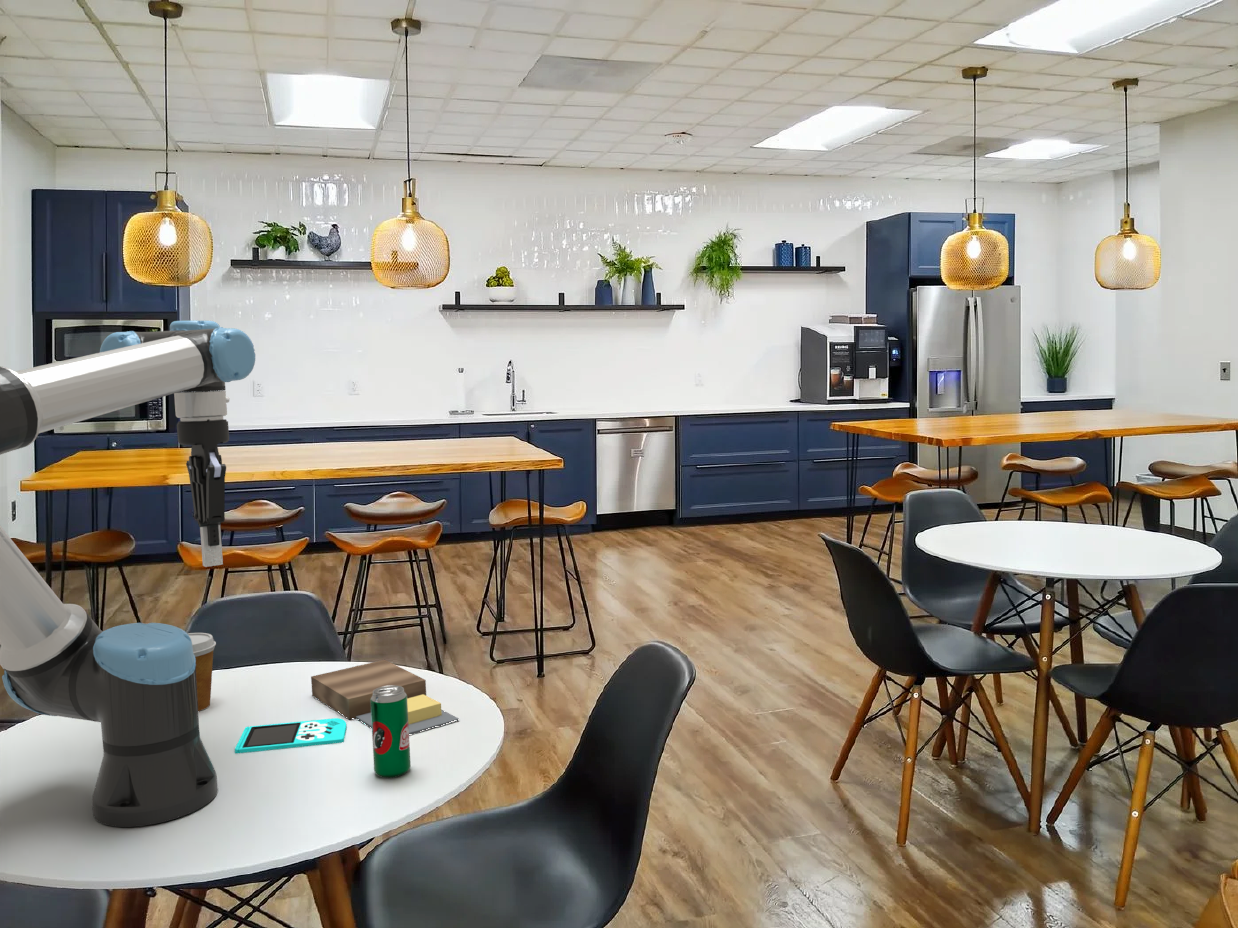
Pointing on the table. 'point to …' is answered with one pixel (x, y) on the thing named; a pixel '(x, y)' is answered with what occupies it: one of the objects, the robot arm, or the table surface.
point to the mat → (419, 725)
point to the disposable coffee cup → (203, 666)
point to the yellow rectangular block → (422, 708)
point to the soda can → (390, 731)
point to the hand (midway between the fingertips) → (212, 564)
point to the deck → (363, 686)
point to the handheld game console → (291, 735)
